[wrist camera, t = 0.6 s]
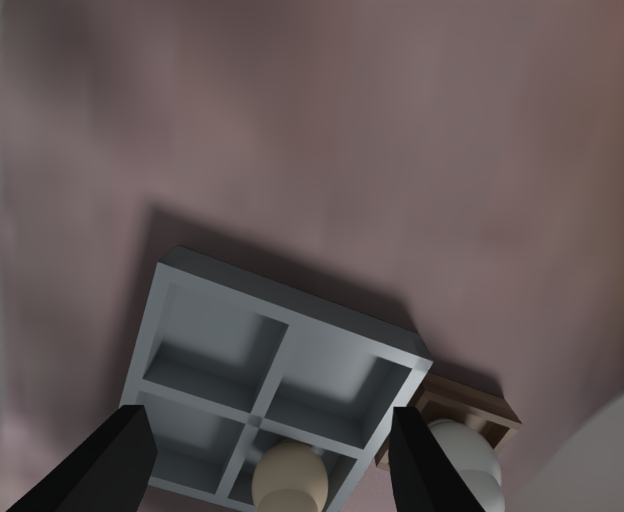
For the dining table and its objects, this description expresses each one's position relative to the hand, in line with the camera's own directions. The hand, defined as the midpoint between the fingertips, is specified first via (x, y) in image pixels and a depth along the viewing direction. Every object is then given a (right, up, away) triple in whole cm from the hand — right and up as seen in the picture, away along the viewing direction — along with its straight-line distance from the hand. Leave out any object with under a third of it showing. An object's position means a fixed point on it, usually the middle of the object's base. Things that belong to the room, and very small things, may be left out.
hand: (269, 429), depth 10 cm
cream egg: (+9, -6, +12) cm, 16 cm away
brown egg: (0, -8, +13) cm, 15 cm away
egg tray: (-2, -3, +12) cm, 13 cm away
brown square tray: (+9, -6, +13) cm, 17 cm away
